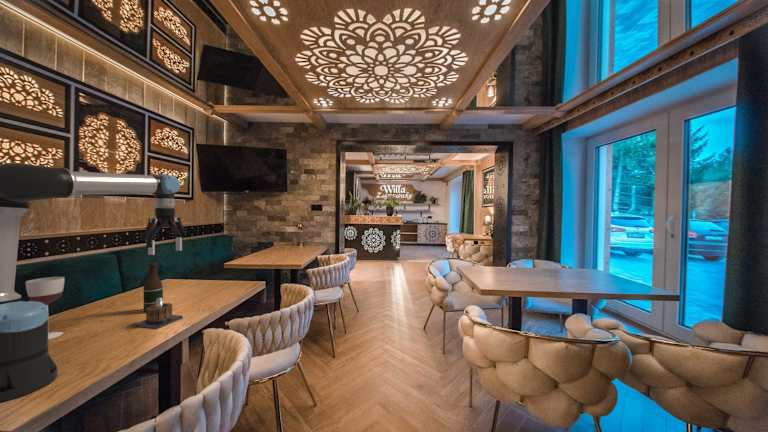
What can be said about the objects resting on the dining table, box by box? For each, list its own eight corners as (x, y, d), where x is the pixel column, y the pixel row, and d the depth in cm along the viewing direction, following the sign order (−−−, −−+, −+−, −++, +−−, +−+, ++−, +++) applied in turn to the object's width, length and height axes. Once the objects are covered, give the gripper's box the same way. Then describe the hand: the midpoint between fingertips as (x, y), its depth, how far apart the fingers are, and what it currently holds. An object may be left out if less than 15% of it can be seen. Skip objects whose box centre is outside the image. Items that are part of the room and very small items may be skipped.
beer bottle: (146, 308, 145) (145, 262, 145) (165, 306, 148) (164, 261, 148) (140, 313, 138) (140, 265, 138) (160, 311, 141) (160, 263, 141)
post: (157, 328, 121) (157, 302, 121) (135, 326, 123) (134, 300, 123) (182, 318, 133) (182, 294, 132) (161, 316, 135) (161, 293, 135)
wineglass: (23, 339, 111) (22, 280, 110) (61, 329, 120) (60, 275, 119) (30, 344, 106) (29, 283, 106) (69, 334, 115) (68, 278, 115)
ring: (158, 322, 123) (158, 310, 122) (141, 320, 124) (141, 309, 124) (177, 314, 131) (176, 303, 131) (161, 313, 133) (160, 302, 133)
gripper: (144, 207, 121) (145, 257, 121) (194, 207, 145) (195, 249, 146) (130, 207, 122) (131, 256, 123) (182, 207, 147) (182, 248, 147)
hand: (165, 252), depth 134 cm, fingers open, 13 cm apart
